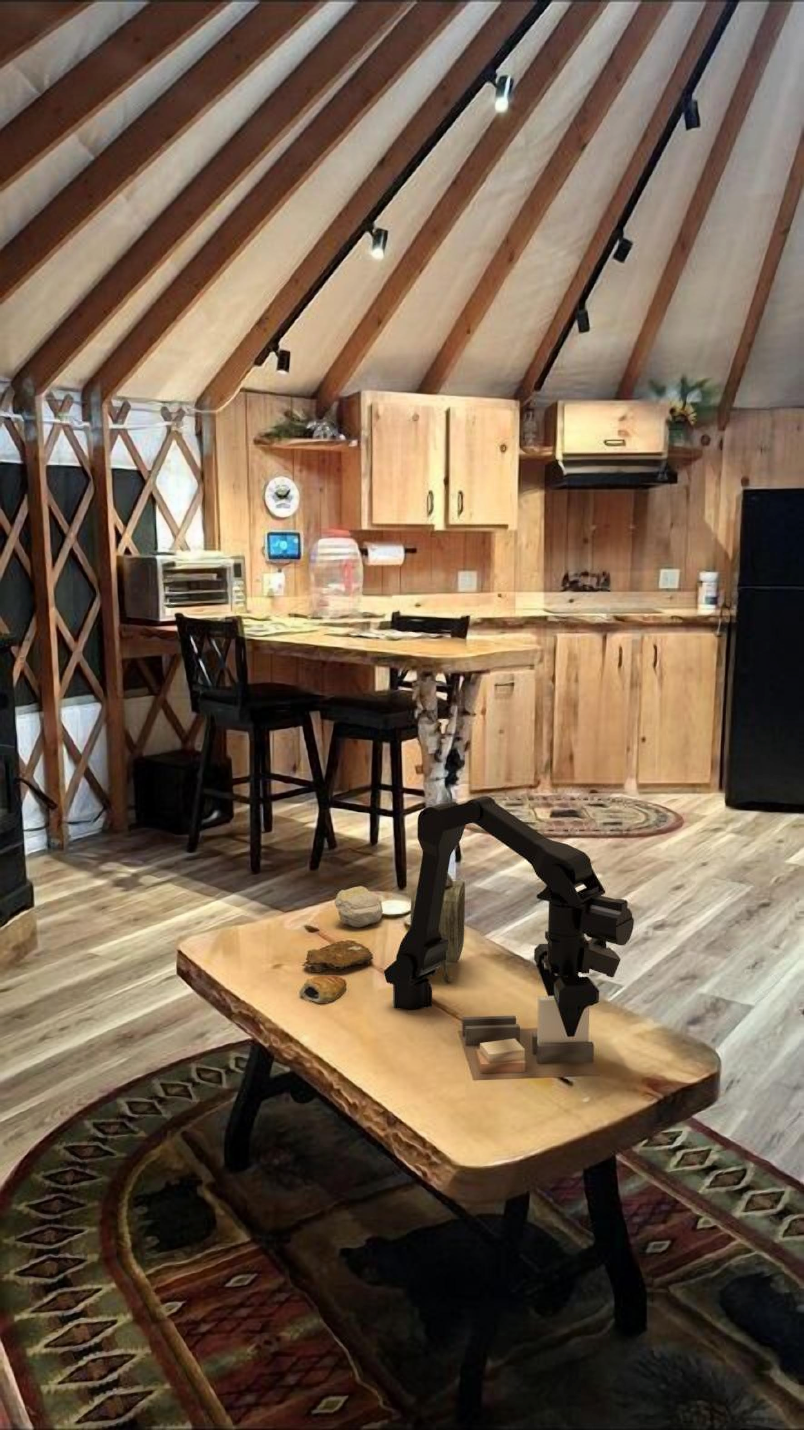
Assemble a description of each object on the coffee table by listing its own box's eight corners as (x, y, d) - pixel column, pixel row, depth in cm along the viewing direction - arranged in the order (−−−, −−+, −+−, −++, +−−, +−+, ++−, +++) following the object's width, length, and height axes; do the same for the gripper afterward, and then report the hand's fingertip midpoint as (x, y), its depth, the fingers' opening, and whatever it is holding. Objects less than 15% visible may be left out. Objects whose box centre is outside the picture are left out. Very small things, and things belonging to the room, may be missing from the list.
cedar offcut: (480, 1073, 159) (481, 1064, 159) (475, 1058, 164) (476, 1049, 164) (525, 1071, 159) (525, 1062, 159) (518, 1056, 164) (519, 1047, 164)
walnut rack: (473, 1089, 157) (473, 1061, 156) (457, 1039, 174) (458, 1014, 173) (600, 1084, 159) (601, 1057, 158) (573, 1035, 175) (573, 1010, 175)
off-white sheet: (538, 1059, 163) (540, 1000, 162) (536, 1055, 165) (538, 996, 164) (587, 1058, 164) (589, 999, 163) (585, 1053, 166) (587, 994, 164)
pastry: (328, 982, 198) (328, 964, 197) (355, 991, 194) (356, 972, 193) (296, 999, 190) (296, 979, 190) (324, 1008, 186) (324, 988, 186)
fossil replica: (392, 919, 234) (352, 917, 237) (390, 883, 233) (350, 882, 237) (371, 932, 222) (329, 930, 226) (369, 894, 222) (328, 893, 226)
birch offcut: (489, 1063, 159) (489, 1054, 159) (479, 1052, 163) (479, 1043, 162) (524, 1058, 161) (524, 1049, 160) (514, 1047, 164) (514, 1038, 164)
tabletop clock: (455, 988, 195) (457, 861, 192) (409, 984, 197) (409, 858, 193) (464, 959, 209) (465, 841, 206) (420, 956, 211) (421, 839, 207)
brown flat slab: (328, 986, 197) (382, 967, 208) (329, 966, 196) (384, 948, 207) (290, 967, 205) (344, 950, 216) (291, 948, 204) (345, 931, 215)
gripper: (634, 950, 153) (630, 1048, 155) (599, 909, 171) (596, 998, 174) (561, 952, 152) (558, 1051, 154) (534, 911, 170) (532, 999, 173)
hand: (563, 1023), depth 164 cm, fingers open, 9 cm apart
